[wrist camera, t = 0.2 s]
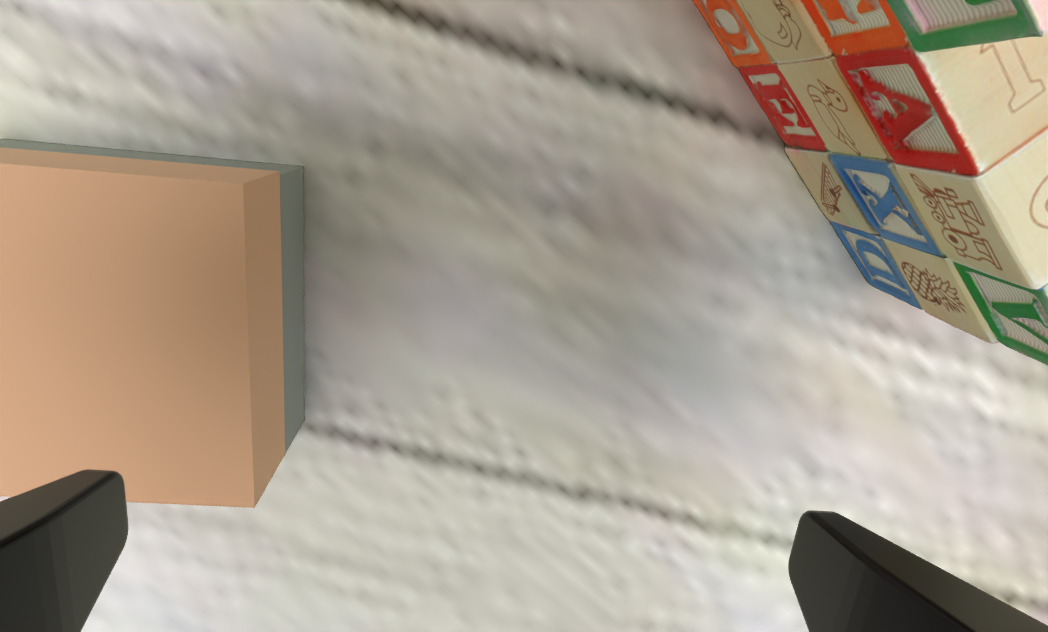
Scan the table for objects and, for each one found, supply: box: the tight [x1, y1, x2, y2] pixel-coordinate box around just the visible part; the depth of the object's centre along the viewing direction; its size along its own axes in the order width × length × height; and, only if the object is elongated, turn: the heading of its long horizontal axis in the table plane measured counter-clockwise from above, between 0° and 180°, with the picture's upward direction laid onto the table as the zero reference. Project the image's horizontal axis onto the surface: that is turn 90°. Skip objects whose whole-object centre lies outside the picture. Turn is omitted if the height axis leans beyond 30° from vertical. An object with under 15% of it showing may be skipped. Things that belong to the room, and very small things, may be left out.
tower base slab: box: [0, 139, 305, 453], centre depth 21 cm, size 9×9×3 cm
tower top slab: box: [0, 147, 285, 508], centre depth 18 cm, size 9×9×3 cm
